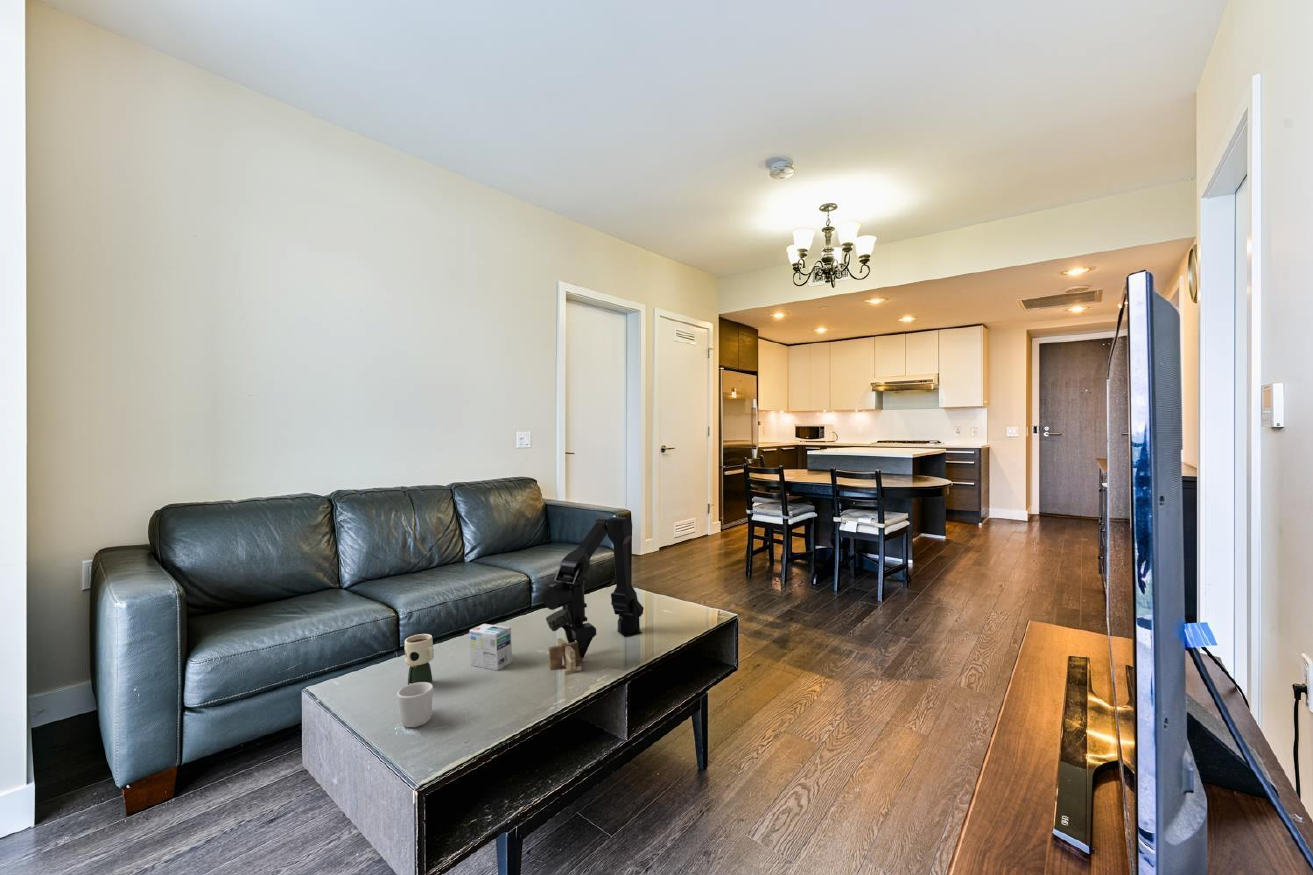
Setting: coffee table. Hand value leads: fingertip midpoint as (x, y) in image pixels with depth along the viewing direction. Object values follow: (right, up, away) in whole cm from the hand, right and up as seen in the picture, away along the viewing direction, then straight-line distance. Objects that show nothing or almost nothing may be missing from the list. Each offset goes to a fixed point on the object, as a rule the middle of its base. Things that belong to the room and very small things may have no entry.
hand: (576, 652), depth 164 cm
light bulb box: (-26, -4, +1) cm, 26 cm away
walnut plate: (-3, -3, -2) cm, 4 cm away
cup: (-34, -5, -30) cm, 46 cm away
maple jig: (-3, -3, -2) cm, 4 cm away
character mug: (-41, -5, -12) cm, 43 cm away
